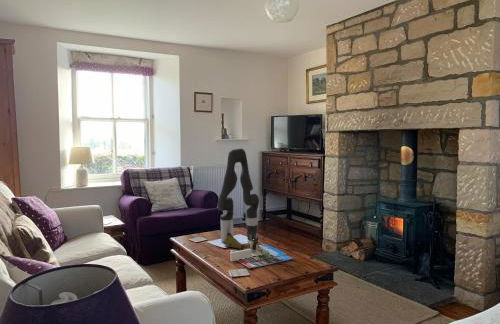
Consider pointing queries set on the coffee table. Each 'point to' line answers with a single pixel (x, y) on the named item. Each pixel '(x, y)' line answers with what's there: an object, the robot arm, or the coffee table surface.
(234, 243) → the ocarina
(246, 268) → the coffee table surface
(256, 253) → the mat
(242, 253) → the cream rectangular block
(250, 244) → the marked cube
